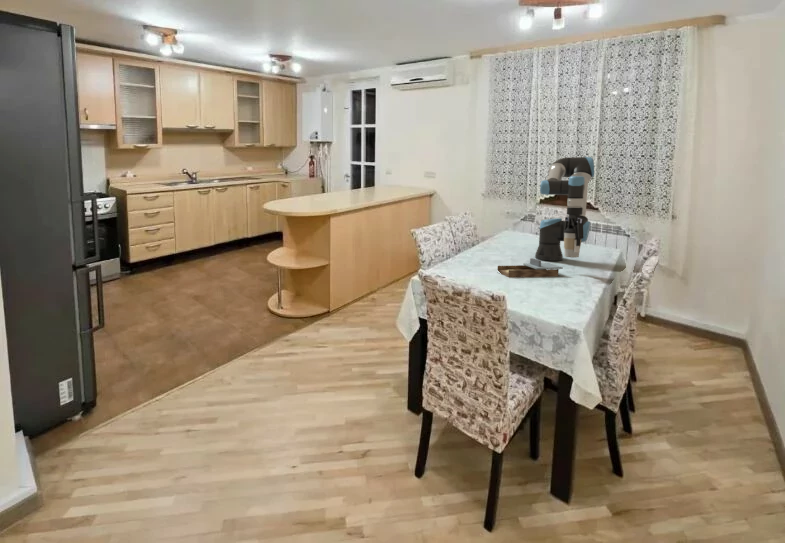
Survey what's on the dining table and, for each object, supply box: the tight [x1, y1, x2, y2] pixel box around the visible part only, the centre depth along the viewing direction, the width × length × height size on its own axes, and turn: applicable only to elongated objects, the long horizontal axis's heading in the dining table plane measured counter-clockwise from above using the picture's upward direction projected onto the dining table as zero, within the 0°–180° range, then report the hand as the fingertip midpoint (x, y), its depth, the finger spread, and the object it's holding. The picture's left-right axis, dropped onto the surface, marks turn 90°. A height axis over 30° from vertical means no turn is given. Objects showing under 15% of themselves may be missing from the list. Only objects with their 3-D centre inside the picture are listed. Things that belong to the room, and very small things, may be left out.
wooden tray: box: [497, 264, 560, 278], centre depth 246 cm, size 26×16×4 cm, turn 99°
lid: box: [523, 257, 564, 270], centre depth 246 cm, size 14×16×4 cm
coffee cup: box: [563, 228, 582, 259], centre depth 247 cm, size 9×9×15 cm
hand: (572, 250), depth 248 cm, fingers closed on coffee cup, 8 cm apart
